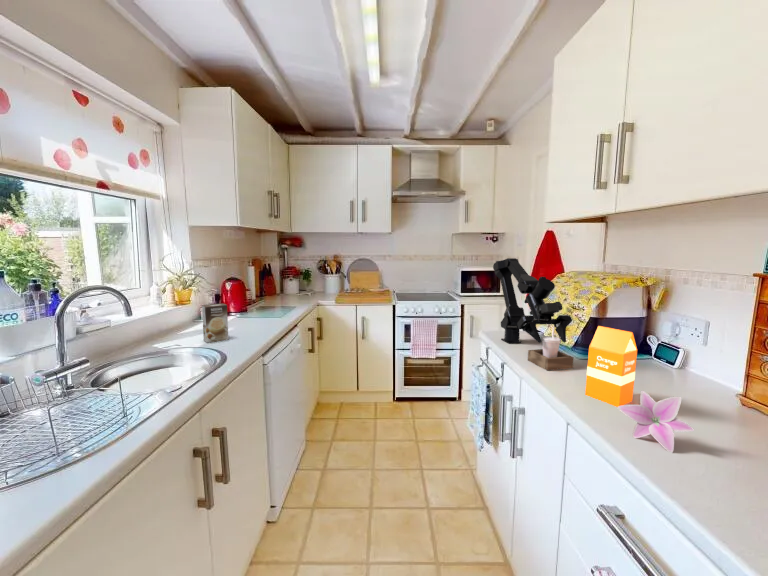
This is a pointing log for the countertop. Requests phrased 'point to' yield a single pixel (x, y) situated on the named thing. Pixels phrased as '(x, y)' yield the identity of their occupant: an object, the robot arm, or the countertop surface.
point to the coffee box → (215, 322)
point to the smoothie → (550, 345)
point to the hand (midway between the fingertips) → (552, 342)
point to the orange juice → (611, 366)
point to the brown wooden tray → (550, 360)
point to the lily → (656, 419)
